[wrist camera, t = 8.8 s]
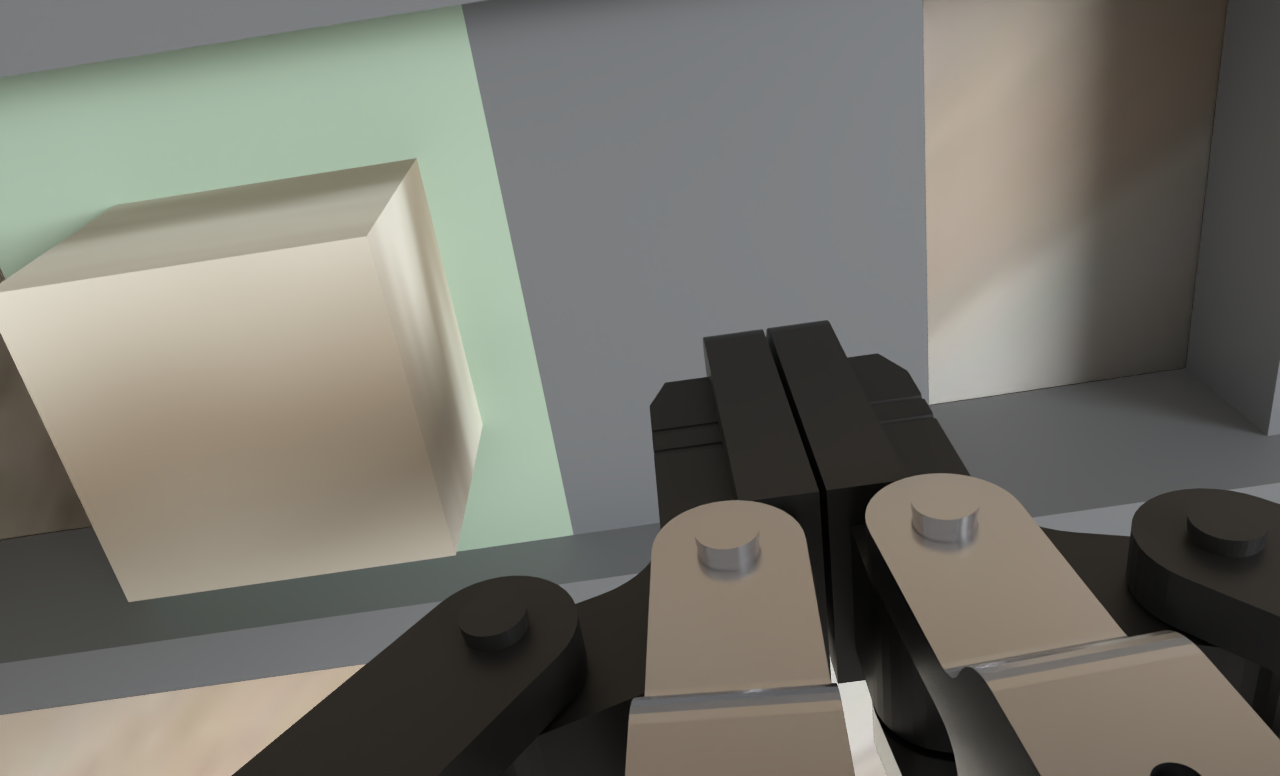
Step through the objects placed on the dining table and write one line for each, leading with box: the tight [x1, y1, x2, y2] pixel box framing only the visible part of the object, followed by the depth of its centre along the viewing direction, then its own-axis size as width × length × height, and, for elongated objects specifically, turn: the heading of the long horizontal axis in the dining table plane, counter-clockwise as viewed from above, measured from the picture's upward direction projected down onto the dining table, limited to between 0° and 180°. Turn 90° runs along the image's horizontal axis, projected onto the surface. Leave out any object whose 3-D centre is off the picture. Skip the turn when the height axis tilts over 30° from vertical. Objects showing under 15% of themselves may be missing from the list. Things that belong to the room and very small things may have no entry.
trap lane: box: [0, 0, 1280, 715], centre depth 18 cm, size 12×30×4 cm, turn 98°
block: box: [0, 158, 483, 602], centre depth 16 cm, size 5×5×4 cm
